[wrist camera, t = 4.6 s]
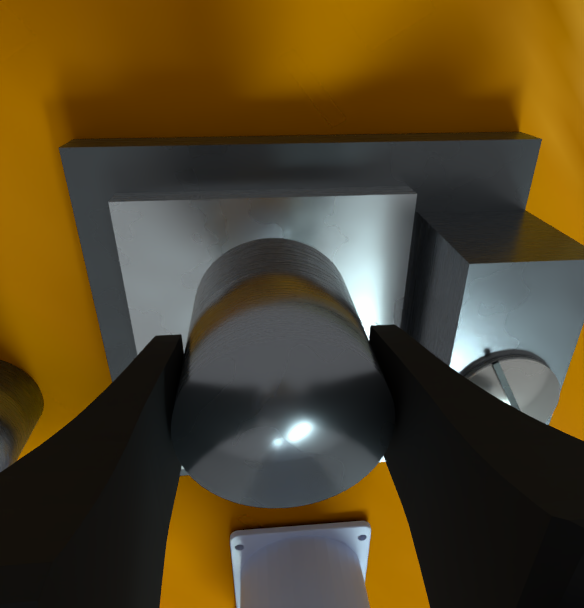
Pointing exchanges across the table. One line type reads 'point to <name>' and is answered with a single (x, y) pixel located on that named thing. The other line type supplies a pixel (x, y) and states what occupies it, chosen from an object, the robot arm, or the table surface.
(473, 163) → the dial scale
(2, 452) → the cylinder
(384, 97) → the table surface
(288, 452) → the cylinder
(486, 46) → the table surface
